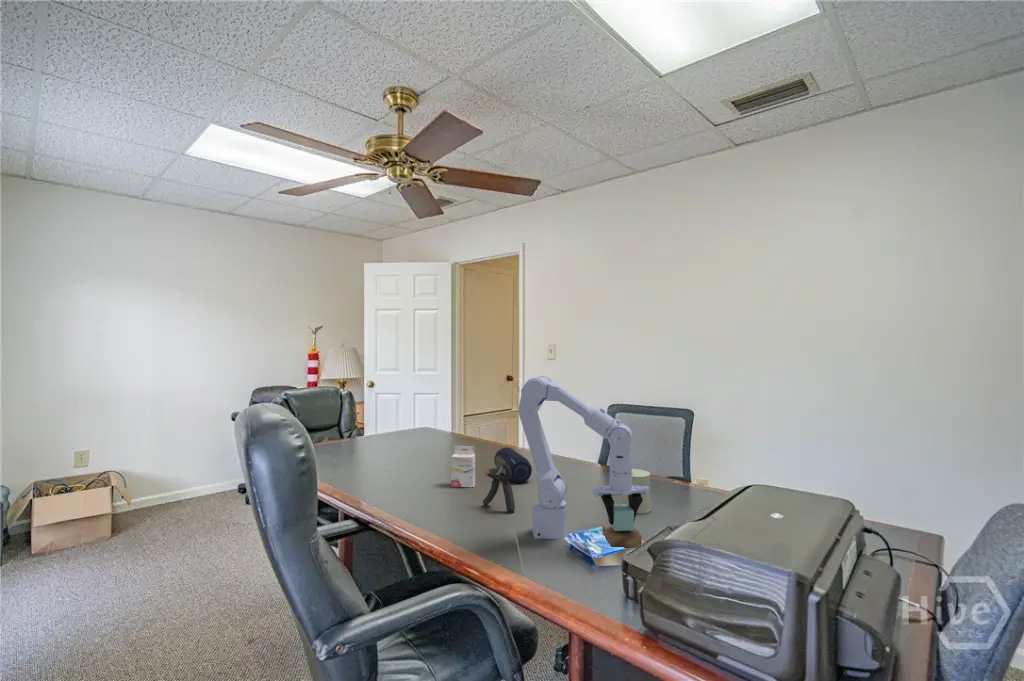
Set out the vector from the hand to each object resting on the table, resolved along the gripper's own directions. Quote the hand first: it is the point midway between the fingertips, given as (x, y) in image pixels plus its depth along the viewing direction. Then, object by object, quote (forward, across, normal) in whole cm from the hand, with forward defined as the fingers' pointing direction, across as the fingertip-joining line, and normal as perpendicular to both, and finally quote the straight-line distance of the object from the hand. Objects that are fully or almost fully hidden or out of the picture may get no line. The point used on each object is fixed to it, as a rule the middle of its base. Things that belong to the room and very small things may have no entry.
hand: (621, 522), depth 126 cm
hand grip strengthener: (+6, -31, +31) cm, 44 cm away
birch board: (+6, -2, -4) cm, 7 cm away
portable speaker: (+6, -24, +69) cm, 73 cm away
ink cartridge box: (+6, -43, +57) cm, 72 cm away
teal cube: (+1, 0, 0) cm, 1 cm away
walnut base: (+6, 0, 0) cm, 6 cm away
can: (+6, +13, +27) cm, 31 cm away
